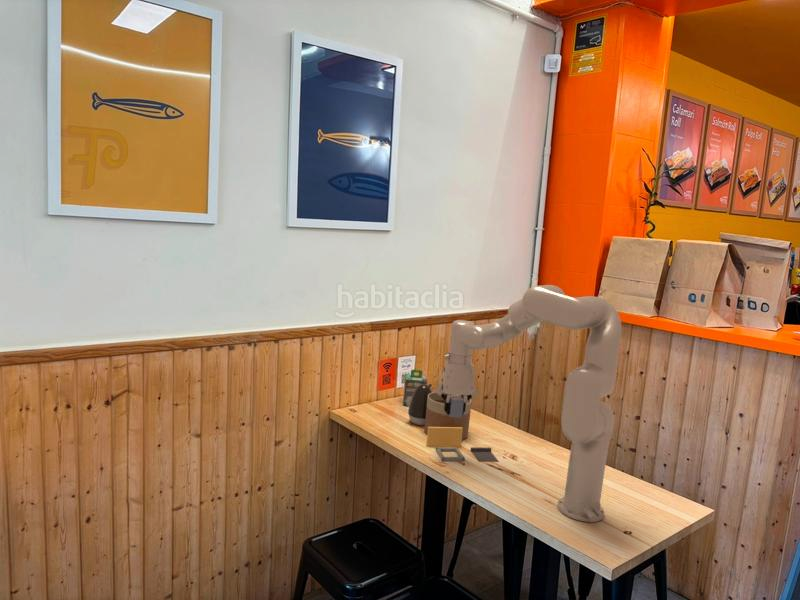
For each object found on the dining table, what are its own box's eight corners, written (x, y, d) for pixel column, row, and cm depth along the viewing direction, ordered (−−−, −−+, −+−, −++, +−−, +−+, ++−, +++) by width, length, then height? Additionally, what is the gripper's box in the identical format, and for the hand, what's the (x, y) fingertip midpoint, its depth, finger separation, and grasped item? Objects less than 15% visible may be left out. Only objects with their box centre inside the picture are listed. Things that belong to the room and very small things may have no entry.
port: (470, 462, 189) (473, 441, 188) (435, 462, 187) (437, 441, 186) (459, 446, 202) (462, 427, 201) (426, 446, 199) (428, 426, 198)
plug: (462, 417, 188) (464, 399, 187) (450, 417, 187) (452, 398, 187) (457, 412, 193) (459, 394, 192) (446, 411, 192) (447, 394, 192)
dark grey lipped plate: (498, 462, 191) (499, 458, 191) (478, 462, 189) (479, 458, 189) (489, 451, 200) (490, 447, 199) (470, 451, 198) (470, 447, 198)
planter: (436, 444, 202) (440, 406, 200) (416, 428, 216) (420, 392, 214) (475, 440, 209) (479, 403, 207) (454, 425, 223) (457, 390, 221)
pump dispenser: (439, 423, 224) (442, 384, 221) (425, 430, 215) (429, 390, 213) (416, 416, 229) (419, 378, 227) (402, 422, 220) (405, 384, 218)
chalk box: (424, 401, 249) (427, 367, 247) (425, 408, 240) (428, 373, 238) (402, 399, 249) (405, 365, 247) (402, 406, 240) (406, 371, 238)
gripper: (437, 360, 182) (431, 416, 185) (488, 362, 186) (482, 418, 188) (431, 354, 190) (426, 409, 192) (481, 357, 193) (475, 410, 195)
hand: (454, 412), depth 190 cm, fingers closed on plug, 4 cm apart
